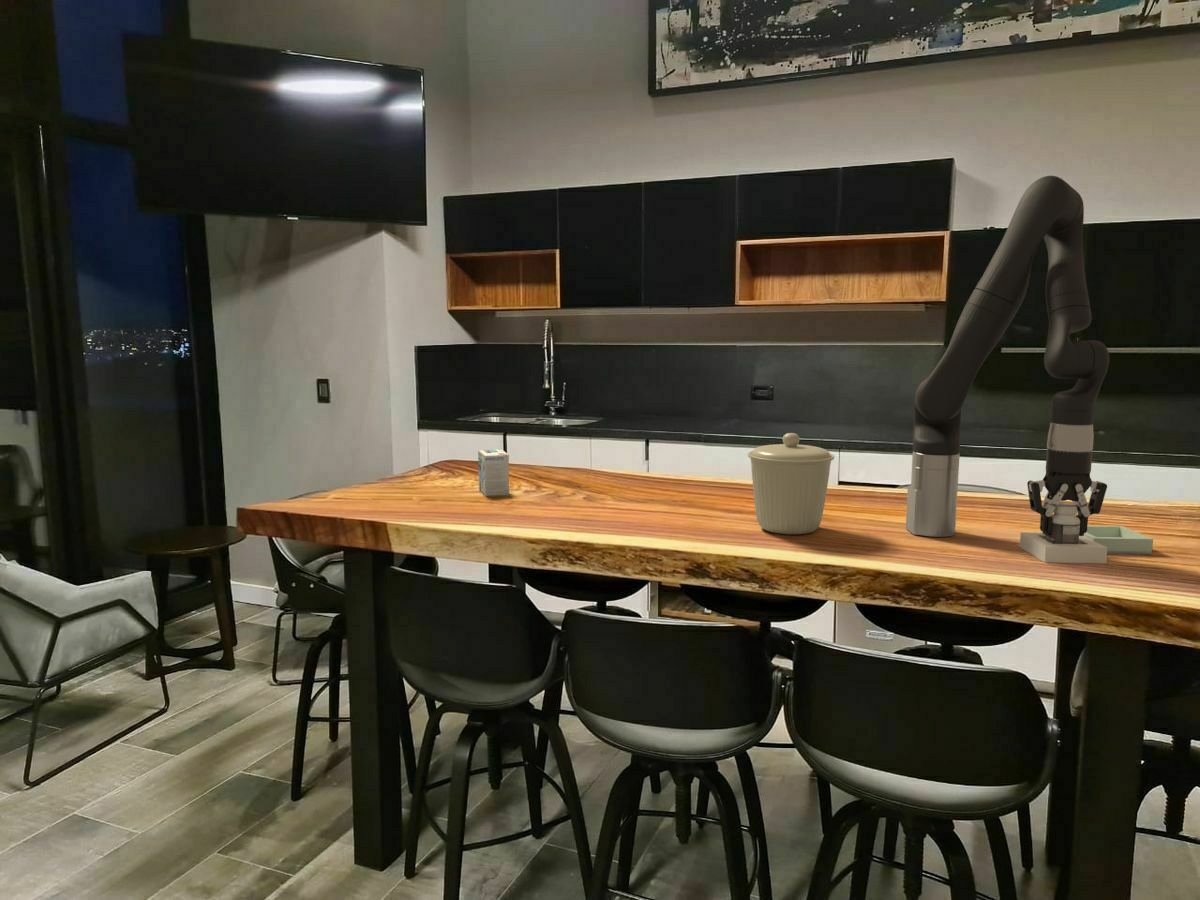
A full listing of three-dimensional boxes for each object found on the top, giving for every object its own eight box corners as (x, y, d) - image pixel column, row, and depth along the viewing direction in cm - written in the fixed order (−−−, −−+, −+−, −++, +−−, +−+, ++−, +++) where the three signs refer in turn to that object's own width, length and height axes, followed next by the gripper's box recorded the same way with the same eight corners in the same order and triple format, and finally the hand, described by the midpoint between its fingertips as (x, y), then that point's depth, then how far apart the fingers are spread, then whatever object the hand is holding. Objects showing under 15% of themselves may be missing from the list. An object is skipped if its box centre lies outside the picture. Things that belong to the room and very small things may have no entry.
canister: (730, 524, 189) (732, 430, 186) (800, 517, 195) (803, 426, 192) (775, 543, 172) (777, 440, 169) (849, 535, 178) (853, 436, 175)
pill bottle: (1039, 551, 165) (1043, 502, 163) (1065, 551, 165) (1069, 501, 164) (1056, 559, 159) (1060, 508, 158) (1083, 558, 160) (1088, 507, 159)
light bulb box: (478, 489, 231) (477, 449, 229) (502, 487, 233) (501, 448, 231) (484, 496, 221) (484, 455, 219) (510, 494, 223) (509, 454, 221)
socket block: (1044, 562, 157) (1045, 546, 157) (1019, 547, 168) (1020, 532, 168) (1106, 563, 157) (1107, 547, 156) (1076, 548, 167) (1078, 533, 167)
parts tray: (1092, 553, 163) (1093, 538, 163) (1065, 539, 174) (1066, 525, 174) (1151, 554, 163) (1153, 539, 162) (1120, 540, 174) (1122, 525, 173)
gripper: (1039, 449, 156) (1032, 539, 159) (1120, 450, 155) (1112, 540, 158) (1021, 444, 164) (1016, 529, 166) (1099, 444, 163) (1092, 530, 165)
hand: (1063, 534), depth 162 cm, fingers closed on pill bottle, 5 cm apart
